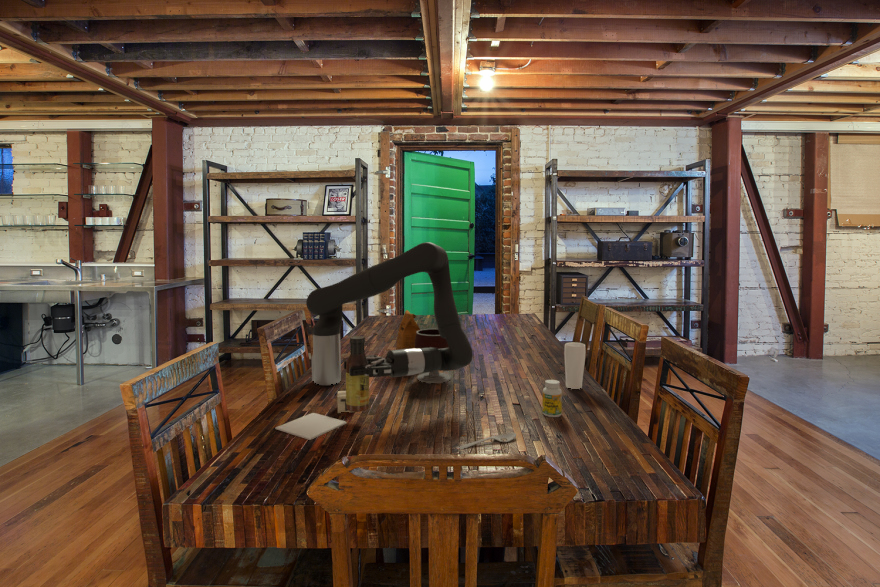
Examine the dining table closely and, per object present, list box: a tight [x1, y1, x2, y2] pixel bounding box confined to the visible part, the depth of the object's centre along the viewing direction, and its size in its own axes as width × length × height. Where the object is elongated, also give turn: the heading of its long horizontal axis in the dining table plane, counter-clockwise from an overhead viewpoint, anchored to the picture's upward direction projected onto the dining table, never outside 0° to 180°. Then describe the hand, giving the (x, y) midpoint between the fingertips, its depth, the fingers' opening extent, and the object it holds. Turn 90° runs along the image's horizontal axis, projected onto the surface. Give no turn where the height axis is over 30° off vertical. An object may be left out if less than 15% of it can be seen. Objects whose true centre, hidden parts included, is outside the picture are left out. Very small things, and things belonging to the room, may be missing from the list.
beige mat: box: [274, 412, 348, 441], centre depth 125 cm, size 13×13×1 cm
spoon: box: [456, 432, 517, 450], centre depth 114 cm, size 4×21×2 cm, turn 114°
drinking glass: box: [563, 341, 586, 390], centre depth 157 cm, size 7×7×15 cm
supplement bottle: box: [541, 379, 563, 418], centre depth 133 cm, size 5×5×10 cm
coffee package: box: [395, 310, 421, 350], centre depth 184 cm, size 10×12×22 cm
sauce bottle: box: [345, 335, 370, 413], centre depth 127 cm, size 6×6×20 cm
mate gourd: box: [415, 328, 452, 384], centre depth 168 cm, size 16×14×20 cm
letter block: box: [336, 390, 352, 414], centre depth 137 cm, size 5×5×5 cm
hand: (346, 368), depth 125 cm, fingers closed on sauce bottle, 6 cm apart
